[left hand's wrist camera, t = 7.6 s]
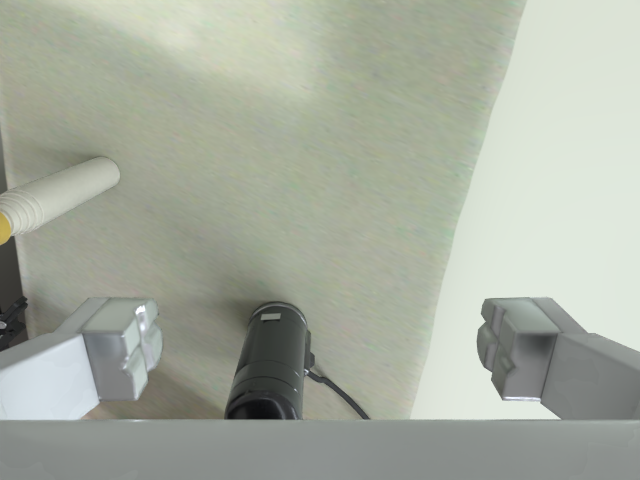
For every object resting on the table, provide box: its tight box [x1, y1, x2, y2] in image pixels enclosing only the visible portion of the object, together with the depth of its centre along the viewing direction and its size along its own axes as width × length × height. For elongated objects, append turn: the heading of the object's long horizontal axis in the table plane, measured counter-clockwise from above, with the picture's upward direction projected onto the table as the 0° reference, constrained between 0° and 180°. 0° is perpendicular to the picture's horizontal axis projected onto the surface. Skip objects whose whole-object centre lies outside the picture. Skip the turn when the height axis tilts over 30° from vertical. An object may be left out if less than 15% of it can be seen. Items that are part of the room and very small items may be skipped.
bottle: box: [0, 157, 120, 236], centre depth 46 cm, size 4×4×24 cm
